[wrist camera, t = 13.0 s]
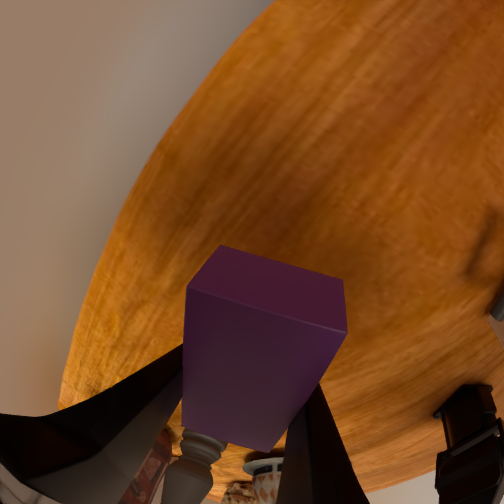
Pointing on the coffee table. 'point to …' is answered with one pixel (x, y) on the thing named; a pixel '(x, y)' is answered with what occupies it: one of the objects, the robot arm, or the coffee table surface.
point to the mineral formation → (239, 494)
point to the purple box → (256, 345)
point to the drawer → (498, 316)
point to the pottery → (149, 473)
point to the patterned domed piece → (265, 478)
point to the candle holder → (192, 469)
